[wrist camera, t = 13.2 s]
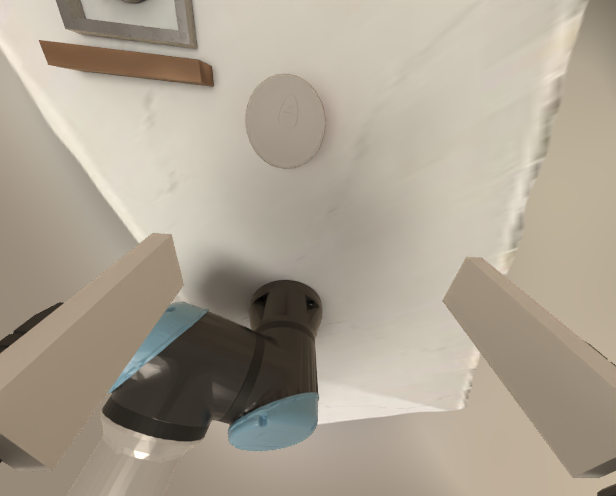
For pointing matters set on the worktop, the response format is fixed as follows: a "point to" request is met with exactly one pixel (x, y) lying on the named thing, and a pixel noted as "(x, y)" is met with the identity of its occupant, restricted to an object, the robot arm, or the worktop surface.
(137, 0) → the supplement bottle
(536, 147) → the worktop surface
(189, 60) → the door edge rail
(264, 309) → the robot arm
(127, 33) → the frame
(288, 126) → the canned food
